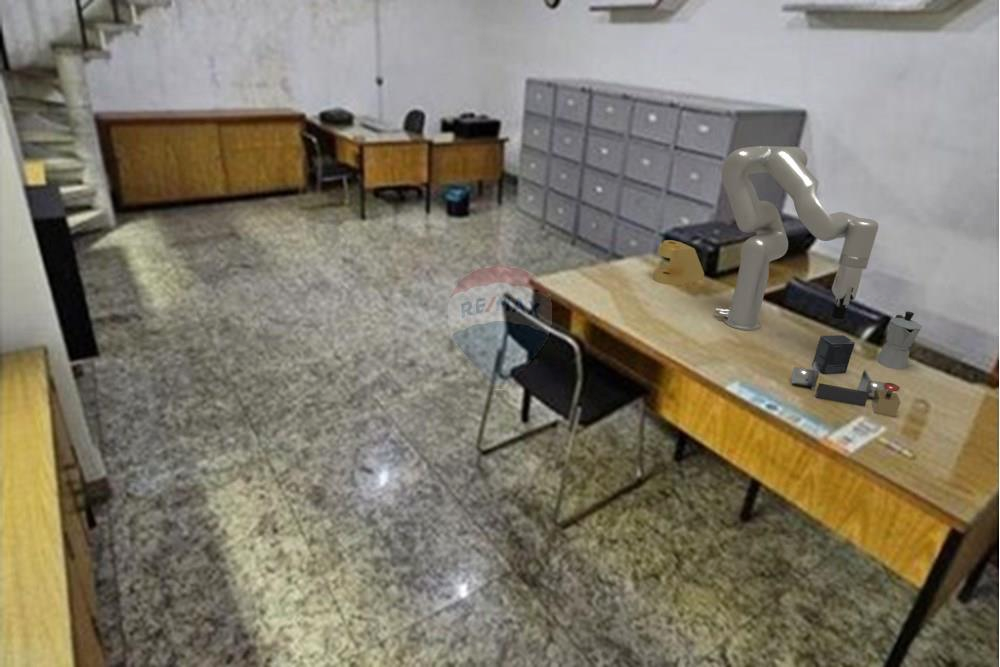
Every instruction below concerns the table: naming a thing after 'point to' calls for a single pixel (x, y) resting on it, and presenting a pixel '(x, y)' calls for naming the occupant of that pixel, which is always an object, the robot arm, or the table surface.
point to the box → (833, 354)
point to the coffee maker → (899, 341)
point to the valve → (886, 400)
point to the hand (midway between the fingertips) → (837, 317)
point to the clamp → (678, 264)
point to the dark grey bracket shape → (835, 392)
